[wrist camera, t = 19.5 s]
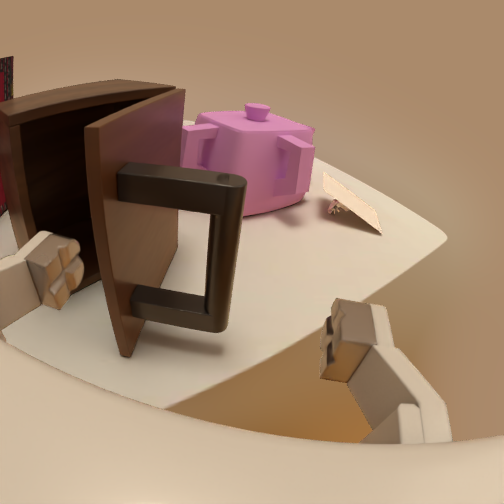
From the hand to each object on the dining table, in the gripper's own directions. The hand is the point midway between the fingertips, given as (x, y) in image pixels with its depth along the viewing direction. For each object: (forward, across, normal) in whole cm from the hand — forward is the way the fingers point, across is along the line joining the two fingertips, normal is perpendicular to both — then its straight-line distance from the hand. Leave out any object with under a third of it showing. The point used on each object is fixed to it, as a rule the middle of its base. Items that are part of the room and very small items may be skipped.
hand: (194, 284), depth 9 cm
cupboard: (+15, +15, +12) cm, 25 cm away
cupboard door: (+11, +3, +12) cm, 17 cm away
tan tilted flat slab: (+33, -12, +10) cm, 37 cm away
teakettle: (+34, +3, +12) cm, 36 cm away
